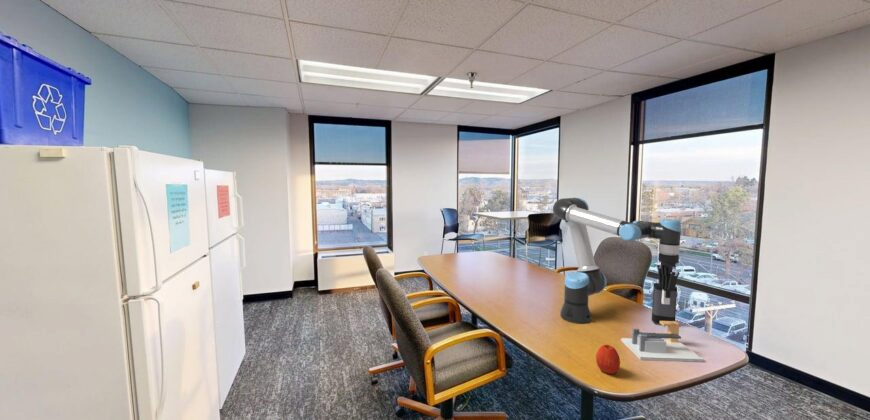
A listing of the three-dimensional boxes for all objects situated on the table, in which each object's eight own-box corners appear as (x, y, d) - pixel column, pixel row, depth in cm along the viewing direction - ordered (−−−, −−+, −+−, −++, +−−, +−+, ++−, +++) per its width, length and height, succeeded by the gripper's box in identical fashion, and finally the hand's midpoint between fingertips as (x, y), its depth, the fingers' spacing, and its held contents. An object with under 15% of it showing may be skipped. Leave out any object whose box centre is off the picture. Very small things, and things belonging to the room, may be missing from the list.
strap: (640, 339, 137) (641, 336, 137) (635, 334, 141) (635, 331, 141) (682, 340, 136) (682, 337, 136) (675, 335, 140) (675, 332, 140)
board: (640, 359, 132) (641, 341, 131) (621, 340, 148) (621, 323, 147) (702, 362, 130) (704, 343, 130) (676, 342, 146) (677, 325, 145)
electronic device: (671, 322, 167) (674, 284, 165) (675, 327, 161) (678, 287, 159) (650, 319, 170) (652, 282, 168) (654, 324, 164) (656, 286, 162)
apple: (596, 374, 122) (597, 347, 121) (594, 363, 130) (595, 337, 129) (621, 379, 119) (622, 351, 118) (617, 367, 127) (618, 341, 126)
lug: (662, 341, 144) (663, 323, 143) (658, 338, 147) (659, 320, 146) (678, 342, 144) (679, 324, 143) (673, 338, 147) (674, 321, 146)
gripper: (687, 257, 140) (683, 309, 142) (668, 250, 153) (665, 298, 155) (668, 256, 141) (665, 309, 143) (652, 250, 154) (649, 298, 156)
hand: (665, 303), depth 149 cm, fingers closed
